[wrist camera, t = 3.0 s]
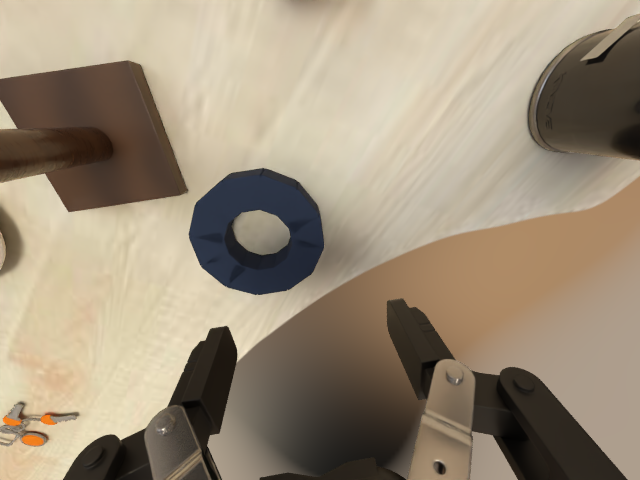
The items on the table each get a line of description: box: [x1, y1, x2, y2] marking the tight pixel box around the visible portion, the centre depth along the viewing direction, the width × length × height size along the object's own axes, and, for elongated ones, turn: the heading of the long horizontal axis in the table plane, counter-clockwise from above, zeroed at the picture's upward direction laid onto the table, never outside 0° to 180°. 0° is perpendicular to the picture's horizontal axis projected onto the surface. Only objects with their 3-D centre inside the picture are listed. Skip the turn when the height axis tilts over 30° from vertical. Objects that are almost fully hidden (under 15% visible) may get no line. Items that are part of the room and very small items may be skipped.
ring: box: [189, 168, 324, 295], centre depth 25 cm, size 12×12×3 cm
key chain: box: [0, 404, 77, 447], centre depth 35 cm, size 13×7×1 cm, turn 127°
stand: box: [0, 61, 187, 212], centre depth 15 cm, size 10×10×14 cm
